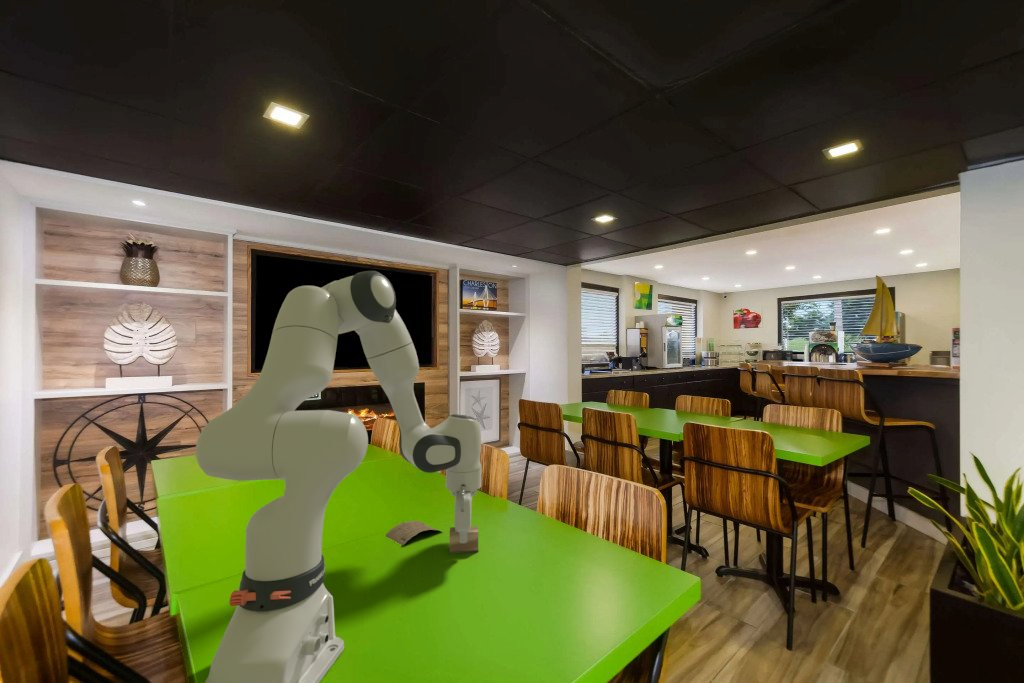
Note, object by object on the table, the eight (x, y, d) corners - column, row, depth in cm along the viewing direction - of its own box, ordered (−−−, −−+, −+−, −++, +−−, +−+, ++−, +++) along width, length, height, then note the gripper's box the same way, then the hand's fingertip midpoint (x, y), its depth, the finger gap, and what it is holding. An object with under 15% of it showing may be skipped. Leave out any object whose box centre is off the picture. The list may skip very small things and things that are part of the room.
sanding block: (478, 552, 108) (478, 531, 108) (449, 553, 107) (449, 532, 107) (478, 546, 111) (478, 526, 111) (450, 547, 111) (450, 527, 111)
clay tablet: (400, 550, 110) (400, 539, 110) (379, 539, 117) (379, 529, 117) (446, 533, 121) (446, 523, 121) (424, 524, 128) (424, 514, 128)
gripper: (476, 492, 100) (476, 554, 99) (476, 469, 120) (476, 520, 119) (448, 492, 99) (448, 555, 99) (453, 469, 120) (453, 521, 119)
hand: (463, 536), depth 109 cm, fingers open, 6 cm apart
